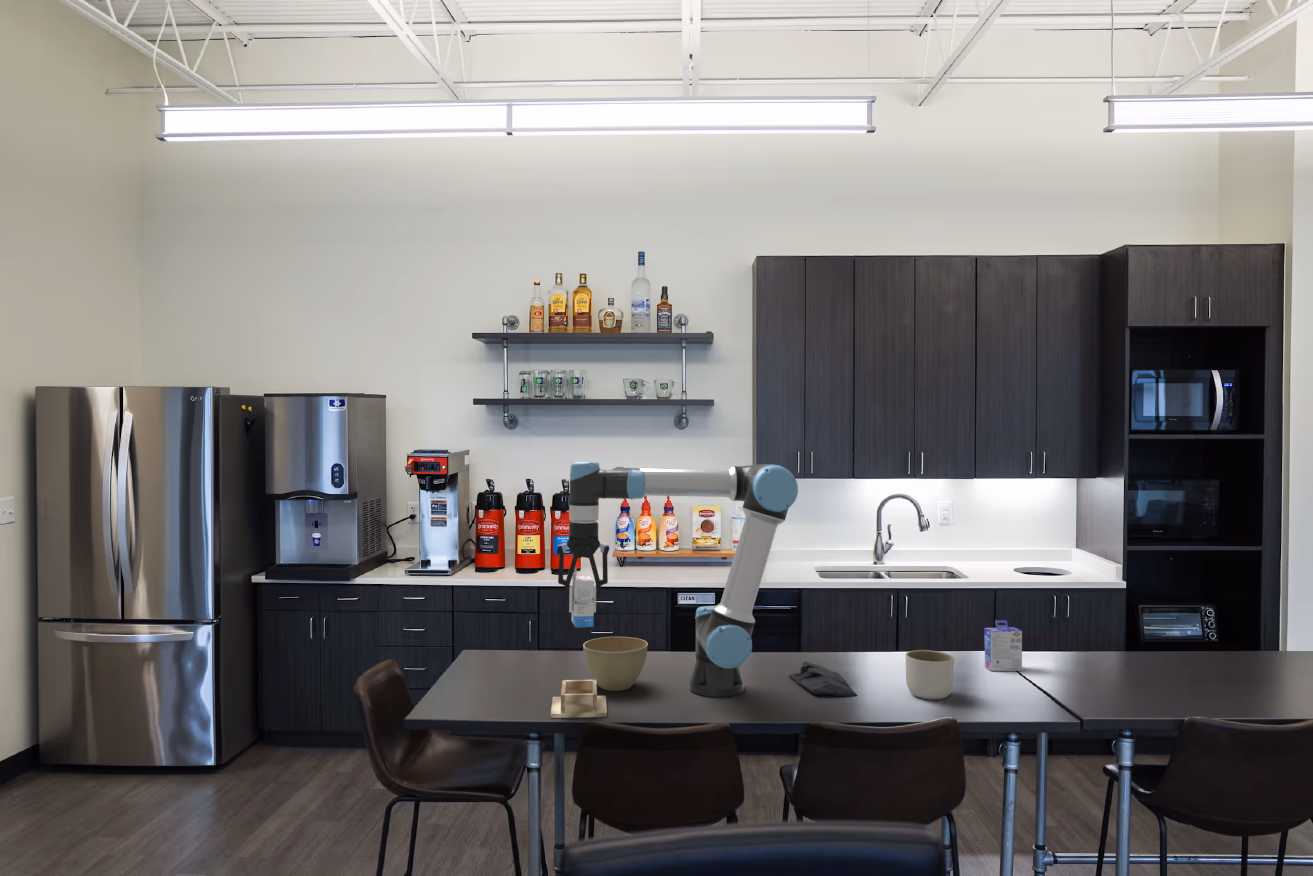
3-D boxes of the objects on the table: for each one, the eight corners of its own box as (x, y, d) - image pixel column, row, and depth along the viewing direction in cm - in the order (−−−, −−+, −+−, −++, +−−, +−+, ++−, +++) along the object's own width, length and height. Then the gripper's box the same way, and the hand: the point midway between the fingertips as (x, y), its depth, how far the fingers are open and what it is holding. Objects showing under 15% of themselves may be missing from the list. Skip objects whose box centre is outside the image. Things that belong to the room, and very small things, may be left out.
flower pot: (640, 676, 250) (640, 634, 250) (653, 694, 232) (653, 650, 232) (579, 679, 246) (579, 637, 246) (587, 699, 228) (587, 653, 228)
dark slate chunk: (805, 700, 229) (805, 682, 229) (787, 676, 251) (787, 660, 251) (861, 698, 230) (861, 681, 230) (838, 675, 252) (838, 659, 252)
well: (605, 699, 228) (605, 678, 228) (606, 716, 214) (606, 694, 214) (552, 700, 226) (552, 680, 226) (550, 718, 213) (550, 696, 213)
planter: (904, 699, 228) (904, 659, 228) (907, 687, 240) (907, 648, 240) (953, 705, 224) (953, 663, 224) (953, 691, 236) (954, 652, 236)
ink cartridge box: (1014, 666, 261) (1015, 619, 261) (1023, 671, 256) (1023, 623, 256) (983, 666, 261) (983, 619, 261) (990, 671, 256) (991, 623, 256)
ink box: (594, 627, 216) (595, 569, 216) (574, 628, 215) (575, 570, 215) (589, 620, 225) (590, 564, 224) (570, 620, 223) (571, 564, 223)
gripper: (618, 520, 224) (617, 608, 224) (548, 519, 223) (547, 608, 223) (620, 523, 217) (618, 614, 217) (547, 522, 215) (546, 614, 215)
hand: (582, 611), depth 220 cm, fingers closed on ink box, 5 cm apart
